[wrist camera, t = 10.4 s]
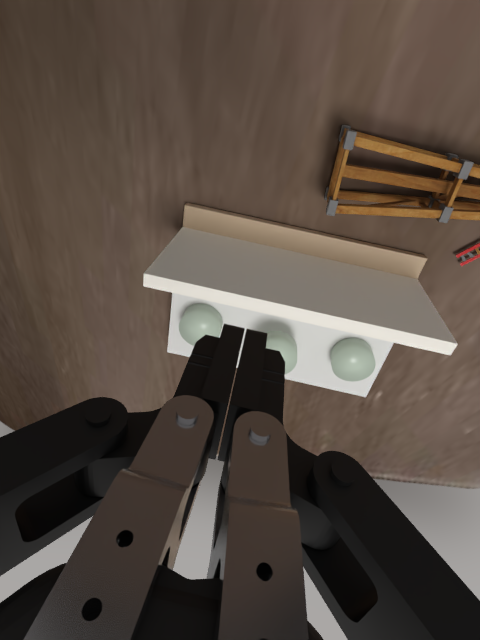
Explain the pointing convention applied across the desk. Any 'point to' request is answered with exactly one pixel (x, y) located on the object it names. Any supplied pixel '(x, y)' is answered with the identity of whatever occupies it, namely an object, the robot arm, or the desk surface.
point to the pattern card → (301, 277)
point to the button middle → (283, 347)
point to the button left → (200, 323)
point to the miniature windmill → (405, 184)
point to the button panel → (308, 337)
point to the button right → (352, 359)
